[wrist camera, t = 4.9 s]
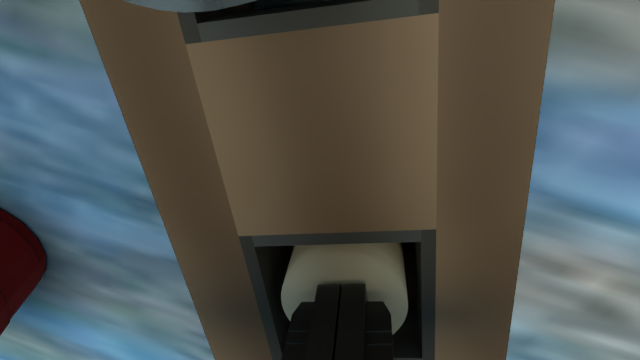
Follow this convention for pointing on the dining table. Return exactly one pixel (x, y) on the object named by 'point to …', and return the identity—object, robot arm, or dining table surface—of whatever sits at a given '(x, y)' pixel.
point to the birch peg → (348, 274)
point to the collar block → (337, 152)
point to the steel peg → (188, 4)
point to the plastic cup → (17, 265)
